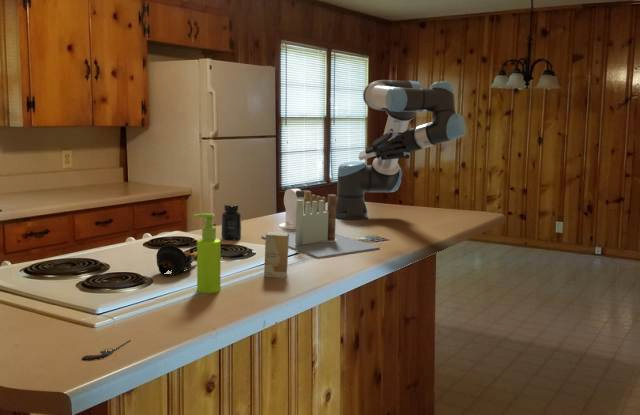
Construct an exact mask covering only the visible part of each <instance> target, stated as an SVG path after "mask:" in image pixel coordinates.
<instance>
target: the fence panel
mask: <svg viewBox="0 0 640 415" xmlns="http://www.w3.org/2000/svg"><path fill="white" fill-rule="evenodd" d="M303 206H304V200H296V229H295V232H296V237H295V244H296V245H302V244H308V243H314V242H320V241H326V240H328V214H329V212H324V201H323V200H320V201H319V213H317V201H312V213H311V214H310V209H311V202H306V206H305V214H303V213H304V212H303Z"/></svg>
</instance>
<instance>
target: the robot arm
mask: <svg viewBox="0 0 640 415" xmlns="http://www.w3.org/2000/svg"><path fill="white" fill-rule="evenodd" d="M362 98H363V101H364V103H365V104H366V105H365V106H367V107H369V108H371V109H372V110H376V111H383V112H385V113H386V114H387V115H388V117H387V120H386V123H385V127H384V131H383V134H382V135H381V136H380V137H378V138H376V139H374V140H373V141H372V145H371V146H370V147H367V148H366V149H365V150H363V151H359V152H358V153H359V154H358V157H357V158H358V160H360V161H350V162H344V163H341V164H340V165H338V168H337V175H336V176H337V188H336V195H337V196H336V219H342V220H362V219H363V220H364V219H366V218H368V214H369V213H368V212H369V211H368V208H367V205H366V202H365V193H384V194H387V193H394V192H396V191H398V190H399V187H400V186H401V183H402V177H403V171H402V168H401V166H400V164H399V163H398V161H399V159H406V160H409V159H410V155H411V152H418V151H419V150H423V149H426V148H429V147H433V146H437V145H440V144H443V143H447V142H450V141H454V140H455V139H456V140H457V139H459V138H462V137H464V136H465V135H466V134H467V124H466V122H465V119H464V116H463V115H462V114H461V113H457V111H456V104H455V94H454V89H453V85H452V83H450V82H448V81H443V80H442V81H436V82H433V83H432V84H431V85H430V86H429V88H424V87H423V86H422V83H421V82H419V81H416V80H415V81H414V80H394V79H393V80H391V79H380V80H374V81H372V82H370V83H369V84H367V85H366V87H365V88H364V89H363V94H362ZM417 113H431V114H432V120H433V121H430V122H427V123H424V124H420V125H418V126H416V127H411V128H409V129H408V127H409V125H410V121H412V120H413V119H415V117H416V114H417ZM367 159H373V161H372V164H367V163H366V162H365V161H363V160H367Z"/></svg>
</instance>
